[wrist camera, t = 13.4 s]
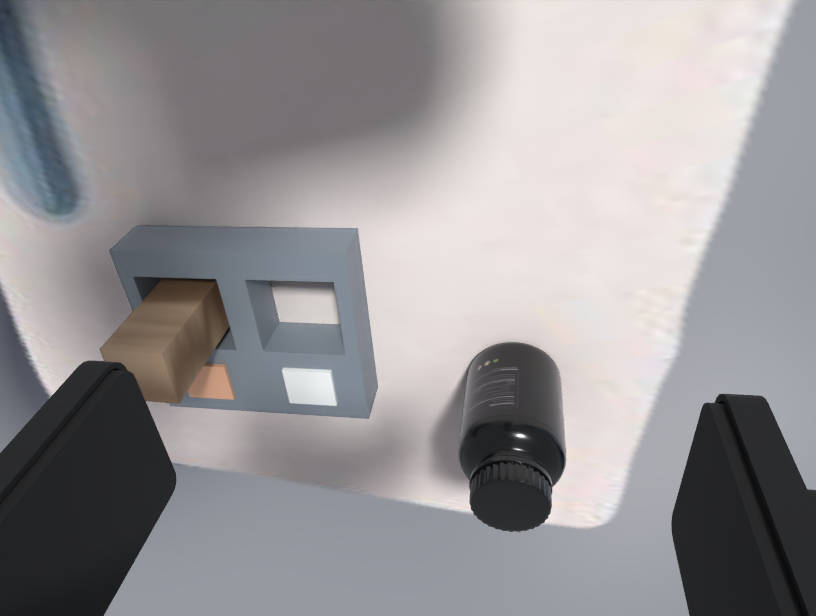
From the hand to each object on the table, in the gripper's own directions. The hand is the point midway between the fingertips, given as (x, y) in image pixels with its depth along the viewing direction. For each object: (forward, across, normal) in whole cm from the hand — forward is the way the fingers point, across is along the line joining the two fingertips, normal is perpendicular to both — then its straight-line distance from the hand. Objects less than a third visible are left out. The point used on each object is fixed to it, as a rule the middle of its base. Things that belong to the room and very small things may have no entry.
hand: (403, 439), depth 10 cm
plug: (+28, +20, +16) cm, 38 cm away
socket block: (+28, +16, +18) cm, 37 cm away
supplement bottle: (+28, -2, +23) cm, 37 cm away
